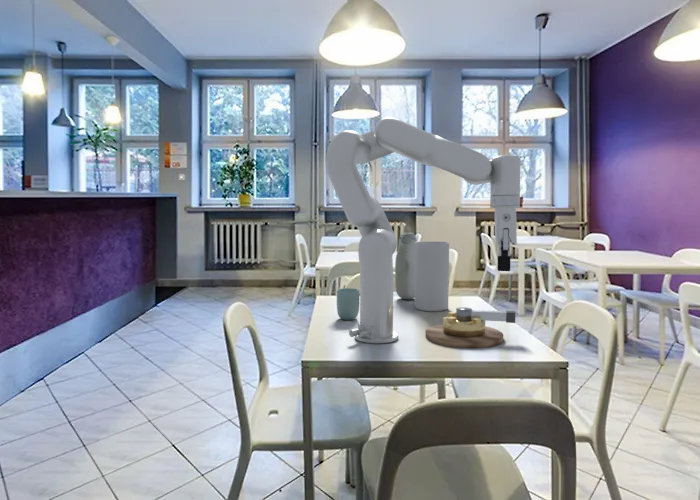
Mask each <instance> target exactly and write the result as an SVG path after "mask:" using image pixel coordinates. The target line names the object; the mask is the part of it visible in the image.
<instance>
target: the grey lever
mask: <svg viewBox="0 0 700 500" xmlns="http://www.w3.org/2000/svg"><path fill="white" fill-rule="evenodd" d="M486 322H505V323H507V324H508V323H509V324H510V323H511V324H516V311H515V310H505V311H503V310H499V311H498V310H480V309H479V310H478V309H472V308H471V307H464V306H463V307H456V311H455V312H454V311H450V312H447V316H444V317H442V324H443V332H445V333H447V334H450V335H454V336H462V337H475V336H481V335H484V334H485V326H486Z"/></svg>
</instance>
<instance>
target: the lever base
mask: <svg viewBox="0 0 700 500" xmlns="http://www.w3.org/2000/svg"><path fill="white" fill-rule="evenodd" d="M425 338H426V340H428V341H430V342H432V343H434V344H437V345H440V344H441V346H445V345H446V346H445V347H450V346H451V348H459V349H461V348H462V349H485V347H487V348H493V347H497V346H499V345H502V343H504V333H503V332H502V331H500V330H499V329H496V328H494V327H490V326H486V325H485V334H484V335H481V336H475V337H462V336H454V335H450V334H447V333H445V332H443V323H440V324H434V325H431V326H429V327H427V328H426V329H425Z"/></svg>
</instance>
